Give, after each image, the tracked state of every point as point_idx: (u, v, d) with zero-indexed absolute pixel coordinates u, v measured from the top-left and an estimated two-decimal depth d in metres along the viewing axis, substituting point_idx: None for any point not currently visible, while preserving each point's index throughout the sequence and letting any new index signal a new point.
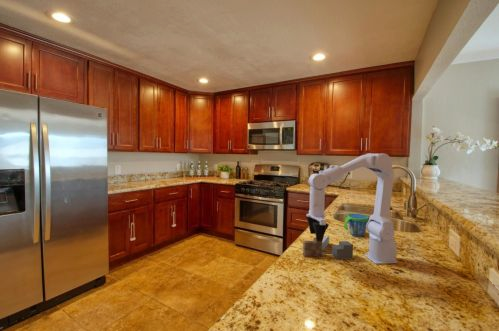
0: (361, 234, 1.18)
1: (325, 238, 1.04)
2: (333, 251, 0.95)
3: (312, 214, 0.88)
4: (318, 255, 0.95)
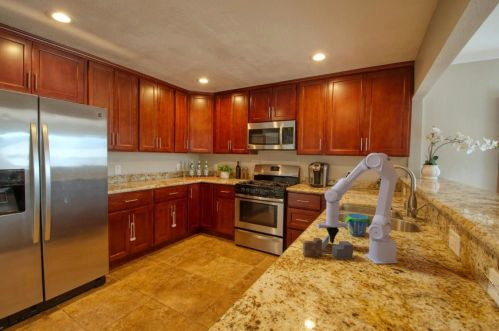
0: (361, 234, 1.18)
1: (325, 238, 1.04)
2: (333, 251, 0.95)
3: None
4: (318, 255, 0.95)
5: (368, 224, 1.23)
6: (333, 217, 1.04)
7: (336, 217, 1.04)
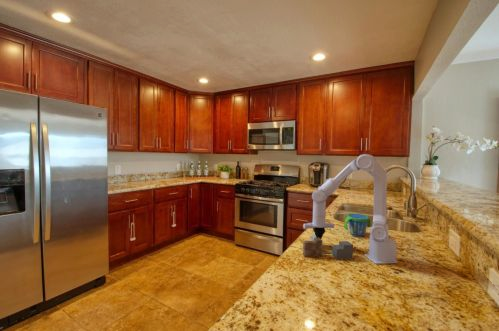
0: (361, 234, 1.18)
1: (315, 237, 1.05)
2: (333, 251, 0.95)
3: None
4: (318, 255, 0.95)
5: (368, 224, 1.23)
6: (319, 217, 1.03)
7: (322, 217, 1.03)
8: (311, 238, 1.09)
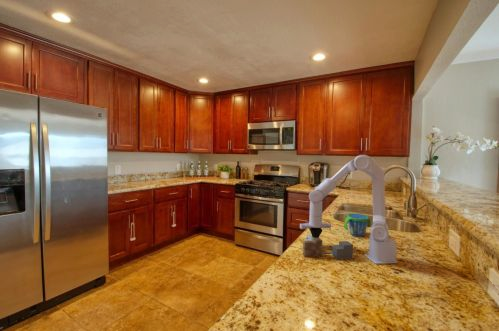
0: (361, 234, 1.18)
1: (312, 237, 1.05)
2: (333, 251, 0.95)
3: None
4: (318, 255, 0.95)
5: (368, 224, 1.23)
6: (316, 217, 1.03)
7: (319, 217, 1.03)
8: (307, 238, 1.08)
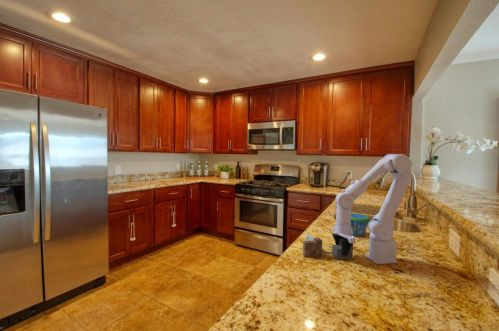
0: (361, 234, 1.18)
1: (312, 237, 1.05)
2: (333, 251, 0.95)
3: (339, 232, 0.92)
4: (318, 255, 0.95)
5: None
6: None
7: None
8: (307, 238, 1.08)
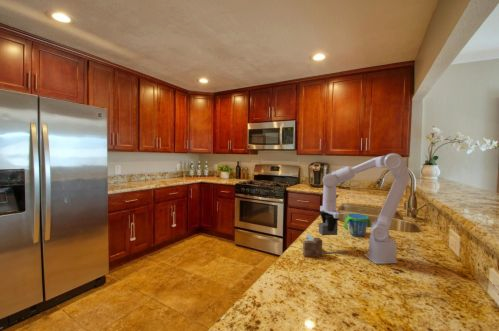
0: (361, 234, 1.18)
1: (312, 237, 1.05)
2: (319, 228, 1.03)
3: (326, 209, 1.00)
4: (318, 255, 0.95)
5: (368, 224, 1.23)
6: None
7: None
8: (307, 238, 1.08)
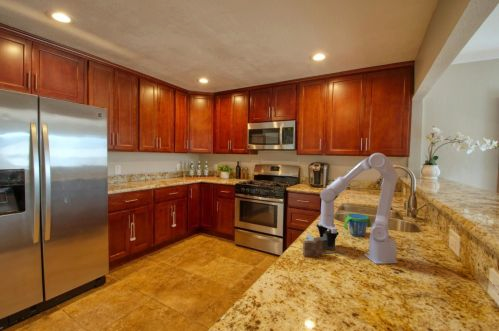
0: (361, 234, 1.18)
1: (312, 237, 1.05)
2: None
3: (324, 223, 1.01)
4: (318, 255, 0.95)
5: (368, 224, 1.23)
6: (333, 215, 1.02)
7: None
8: (307, 238, 1.08)
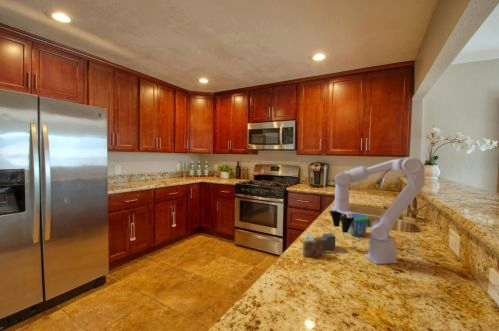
0: (361, 234, 1.18)
1: (312, 237, 1.05)
2: None
3: (338, 208, 0.97)
4: (318, 255, 0.95)
5: (368, 224, 1.23)
6: None
7: None
8: (307, 238, 1.08)
